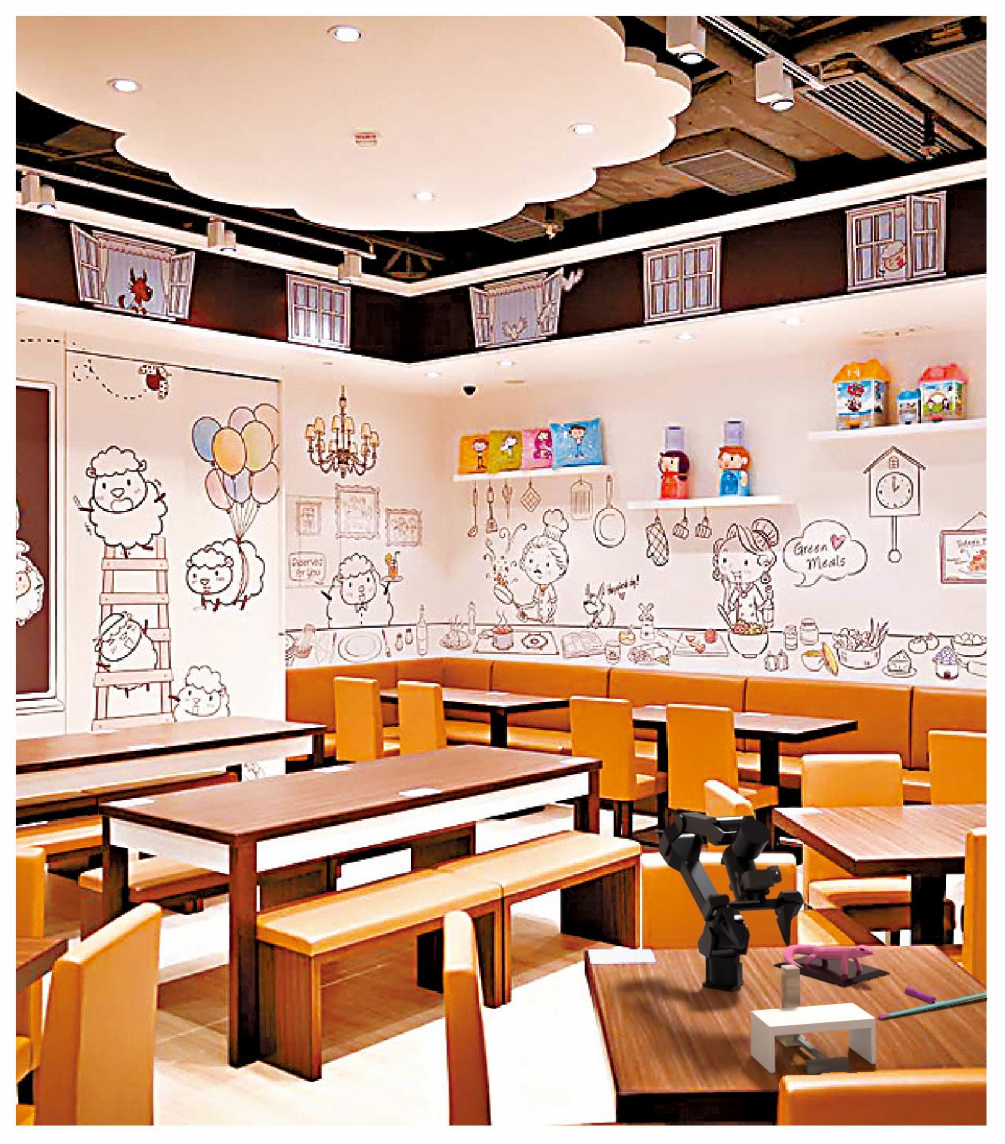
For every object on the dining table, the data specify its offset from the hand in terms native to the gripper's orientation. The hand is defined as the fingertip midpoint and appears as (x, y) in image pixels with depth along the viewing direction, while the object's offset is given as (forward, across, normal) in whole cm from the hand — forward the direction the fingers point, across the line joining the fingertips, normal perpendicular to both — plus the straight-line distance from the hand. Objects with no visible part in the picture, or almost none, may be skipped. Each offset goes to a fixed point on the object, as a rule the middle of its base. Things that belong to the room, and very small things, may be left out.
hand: (765, 947), depth 225 cm
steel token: (+30, 0, -11) cm, 32 cm away
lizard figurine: (-7, +25, +28) cm, 38 cm away
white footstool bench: (+24, 0, -6) cm, 24 cm away
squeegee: (+8, +33, +12) cm, 36 cm away
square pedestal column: (+22, 0, -4) cm, 22 cm away
